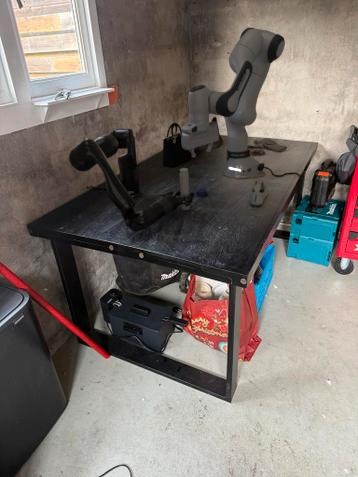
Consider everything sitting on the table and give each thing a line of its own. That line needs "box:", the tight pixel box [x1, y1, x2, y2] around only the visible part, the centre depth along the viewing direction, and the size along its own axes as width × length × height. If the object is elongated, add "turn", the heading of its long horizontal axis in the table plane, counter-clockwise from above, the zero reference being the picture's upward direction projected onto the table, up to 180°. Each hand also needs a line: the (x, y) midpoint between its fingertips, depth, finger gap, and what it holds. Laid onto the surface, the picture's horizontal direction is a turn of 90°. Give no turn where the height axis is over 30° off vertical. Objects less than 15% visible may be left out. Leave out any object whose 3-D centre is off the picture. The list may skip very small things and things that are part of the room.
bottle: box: [179, 167, 191, 211], centre depth 149 cm, size 4×4×19 cm
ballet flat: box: [249, 179, 269, 207], centre depth 158 cm, size 8×24×8 cm, turn 163°
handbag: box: [162, 122, 190, 168], centre depth 210 cm, size 21×9×25 cm, turn 148°
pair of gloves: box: [247, 138, 288, 155], centre depth 230 cm, size 30×26×5 cm
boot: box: [210, 116, 224, 149], centre depth 245 cm, size 9×24×20 cm, turn 168°
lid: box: [196, 188, 207, 197], centre depth 167 cm, size 5×5×2 cm
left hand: (187, 193), depth 152 cm, fingers open, 6 cm apart
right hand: (201, 154), depth 157 cm, fingers open, 8 cm apart
